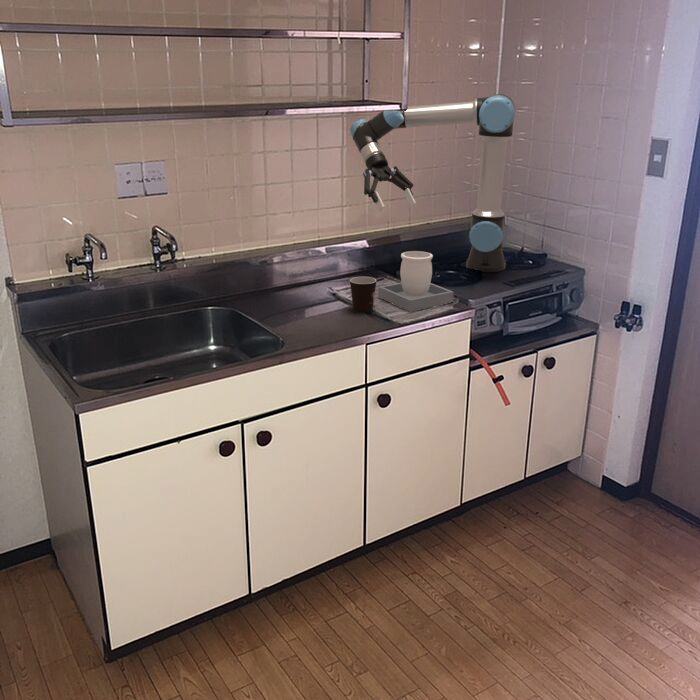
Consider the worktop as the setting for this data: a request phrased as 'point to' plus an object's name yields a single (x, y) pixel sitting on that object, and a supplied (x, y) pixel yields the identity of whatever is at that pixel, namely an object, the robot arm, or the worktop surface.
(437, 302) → the tray
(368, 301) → the coffee mug
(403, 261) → the jar
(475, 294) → the worktop surface
